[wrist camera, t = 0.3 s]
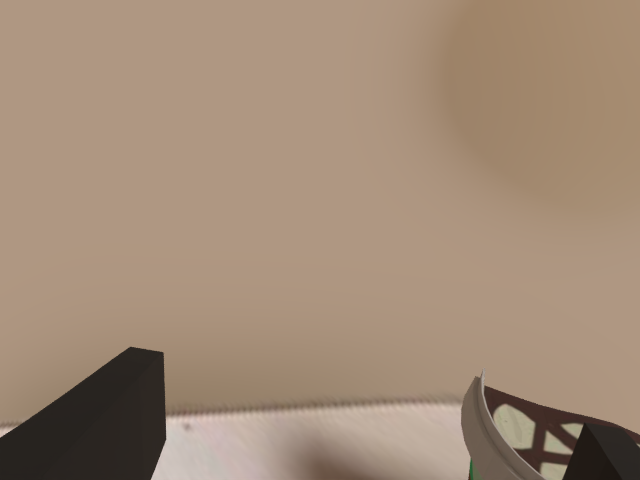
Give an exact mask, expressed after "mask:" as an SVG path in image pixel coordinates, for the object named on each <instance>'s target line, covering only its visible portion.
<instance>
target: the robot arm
mask: <svg viewBox="0 0 640 480" xmlns="http://www.w3.org/2000/svg"><path fill="white" fill-rule="evenodd" d="M163 355H164V354H163V352H159V351H152V350H146V349H140V348H134V347H130V348H128V349H126V350H125V351H124V352H122V353H121V354H119V355H118V356H116V357H115V358H114V359H112V360H111V361H110V362H108V363H107V364H105V365H104V366H102V367H101V368H100V369H98V370H97V371H96V372H94V373H93V374H92V375H90V376H89V377H88V378H86V379H85V380H83V381H82V382H80V383H79V384H78V385H76V386H75V387H74V388H72V389H71V390H70V391H68V392H67V393H65V394H64V395H63V396H61V397H60V398H58V399H57V400H55V401H54V402H52V403H51V404H50V405H48V406H47V407H45V408H44V409H42V410H41V411H40V412H38V413H37V414H35V415H34V416H32V417H31V418H30V419H28V420H27V421H25V422H24V423H22V424H21V425H19V426H18V427H16V428H15V429H13V430H11V431H10V432H8V433H7V434H5V435H4V436H2V437H1V438H0V480H151V478H152V475H153V473H154V470H155V468H156V465H157V462H158V460H159V457H160V454H161V452H162V449H163V446H164V444H165V441H166V416H165V386H164V385H165V384H164V356H163ZM562 480H640V447H639V446H638V445H637V444H636V443H635V441H634V440H633V439H632V438H631V437H630V436H629V435H628V434H627V433H626V432H625V431H624V430H623V429H622V428H616V427H610V426H604V425H598V424H592V423H586V422H584V425H583V427H582V430H581V433H580V435H579V438H578V440H577V443H576V445H575V448H574V450H573V453H572V456H571V458H570V461H569V463H568V466H567V468H566V471H565V474H564V476H563V479H562Z"/></svg>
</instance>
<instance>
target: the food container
mask: <svg viewBox="0 0 640 480" xmlns="http://www.w3.org/2000/svg"><path fill="white" fill-rule="evenodd" d="M484 377H485V368H484V369H483V371H482V374H481V377H480V378H479V377H475V378H474V380H473V382H472V384H471V385H470V387H469V389H468V391H467V392H466V394H465V396H464V400H463V405H462V409H461V426H462V431H463V436H464V441H465V444H466V446H467V449H468V451H469V454H470V457H471V461H470V470H469V479H468V480H562V479H563V476H564V474H565V471H566V468H567V466H568V463H569V461H570V458H571V456H572V453H573V450H574V448H575V445H576V443H577V440H578V438H579V435H580V433H581V430H582V427H583V425H584V422H586V423H592V424H598V425H604V426H610V427H616V428H622V429H623V430H624V431H625V432H626V433H627V434H628V435H629V436H630V437H631V438H632V439H633V440H634V441H635V443H636V444H637V445H638V446H639V447H640V435H639V434H637V433H635V432H632V431H630V430H628V429H625V428H623V427H621V426H618V425H616V424H613V423H610V422H607V421H603V420H599V419H596V418H592V417H588V416H584V415H579V414H574V413H570V412H565V411H561V410H557V409H553V408H549V407H546V406H542V405H538V404H535V403H532V402H529V401H527V400H524V399H520V398H518V397H515V396H512V395H509V394H506V393H504V392H501V391H498V390H495V389H493V388H490V387H487V386H484ZM483 387H484V388H483Z"/></svg>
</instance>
